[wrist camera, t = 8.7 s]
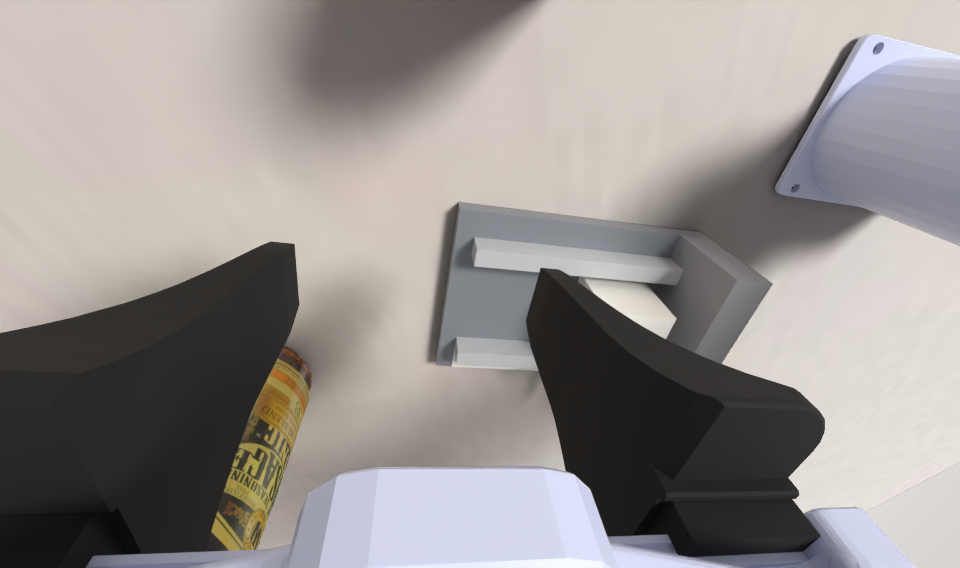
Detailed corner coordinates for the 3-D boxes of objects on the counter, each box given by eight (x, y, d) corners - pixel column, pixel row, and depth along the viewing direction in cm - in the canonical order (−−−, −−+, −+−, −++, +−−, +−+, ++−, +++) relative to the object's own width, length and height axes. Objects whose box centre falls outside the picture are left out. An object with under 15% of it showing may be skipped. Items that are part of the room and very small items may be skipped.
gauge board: (700, 231, 24) (772, 283, 19) (634, 364, 30) (677, 432, 25) (458, 202, 21) (468, 253, 16) (436, 354, 27) (438, 428, 22)
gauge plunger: (641, 279, 24) (676, 318, 21) (599, 373, 28) (623, 419, 25) (580, 273, 23) (606, 313, 20) (546, 371, 27) (563, 418, 24)
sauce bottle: (321, 402, 28) (168, 934, 12) (226, 404, 27) (-89, 986, 11) (308, 329, 25) (65, 938, 8) (200, 329, 24) (-326, 1013, 7)
